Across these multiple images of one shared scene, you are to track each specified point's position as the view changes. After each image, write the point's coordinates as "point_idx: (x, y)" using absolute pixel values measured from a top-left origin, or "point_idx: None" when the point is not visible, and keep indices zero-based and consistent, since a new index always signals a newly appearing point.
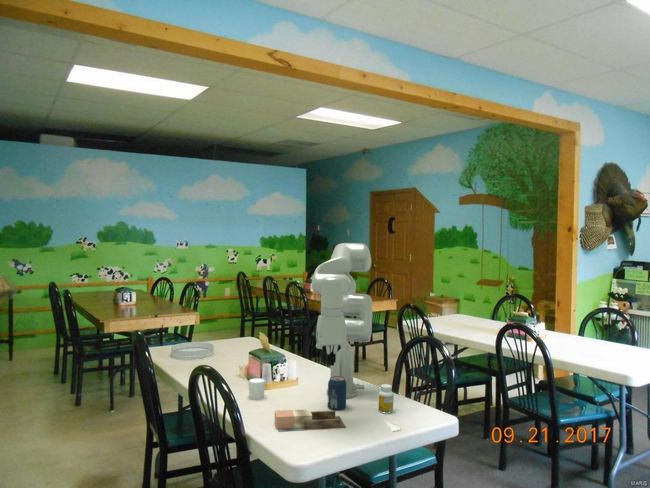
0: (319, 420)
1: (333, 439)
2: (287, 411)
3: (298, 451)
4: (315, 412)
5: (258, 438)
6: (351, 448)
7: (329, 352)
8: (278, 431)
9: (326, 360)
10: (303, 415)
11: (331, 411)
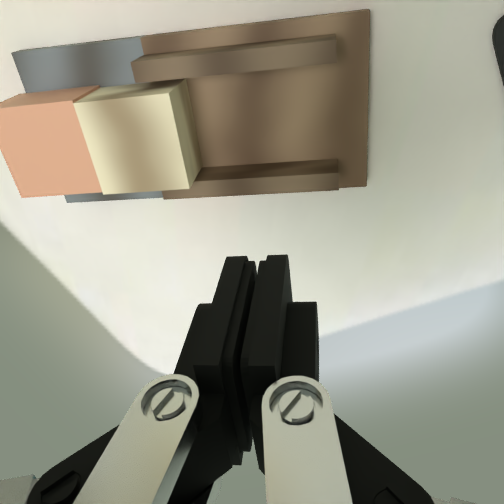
0: (231, 190)
1: (290, 253)
2: (52, 123)
3: (164, 319)
4: (212, 72)
5: (8, 219)
6: (343, 321)
7: (209, 479)
8: (65, 198)
9: (198, 321)
10: (145, 185)
11: (311, 59)
